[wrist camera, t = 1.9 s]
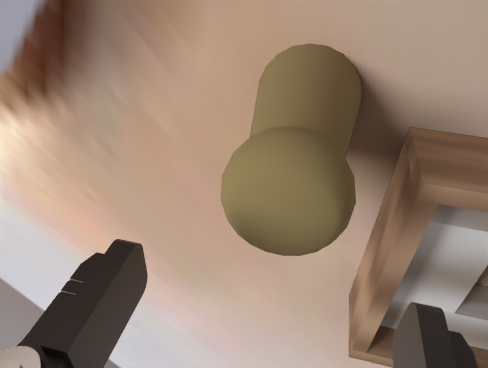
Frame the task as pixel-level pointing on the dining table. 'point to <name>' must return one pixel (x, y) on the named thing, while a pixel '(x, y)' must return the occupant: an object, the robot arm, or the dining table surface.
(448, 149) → the wooden tray
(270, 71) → the cork
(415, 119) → the dining table surface
